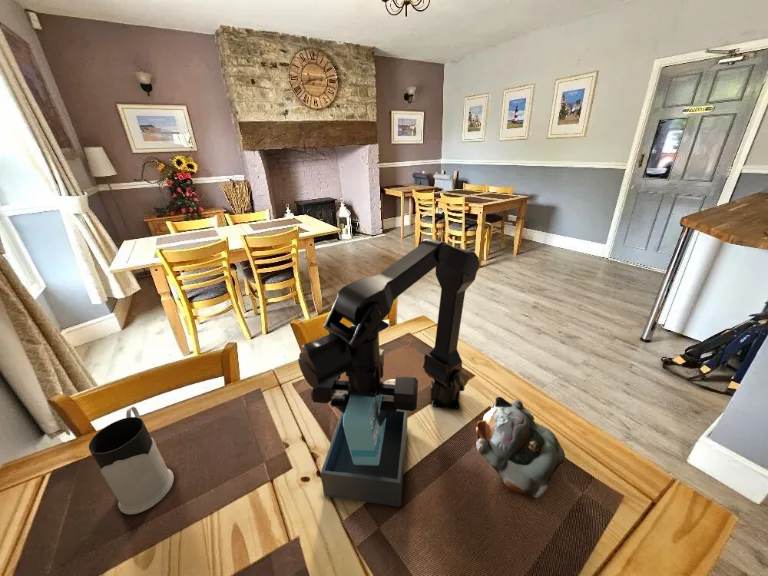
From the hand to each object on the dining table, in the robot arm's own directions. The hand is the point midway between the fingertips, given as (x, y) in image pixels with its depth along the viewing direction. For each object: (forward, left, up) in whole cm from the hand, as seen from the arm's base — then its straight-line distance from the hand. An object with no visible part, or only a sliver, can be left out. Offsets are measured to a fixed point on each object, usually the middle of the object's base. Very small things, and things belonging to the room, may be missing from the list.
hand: (367, 422), depth 59 cm
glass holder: (+43, +9, -11) cm, 45 cm away
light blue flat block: (-1, 0, -5) cm, 5 cm away
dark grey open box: (0, 0, -11) cm, 11 cm away
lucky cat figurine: (-29, -3, -11) cm, 31 cm away
